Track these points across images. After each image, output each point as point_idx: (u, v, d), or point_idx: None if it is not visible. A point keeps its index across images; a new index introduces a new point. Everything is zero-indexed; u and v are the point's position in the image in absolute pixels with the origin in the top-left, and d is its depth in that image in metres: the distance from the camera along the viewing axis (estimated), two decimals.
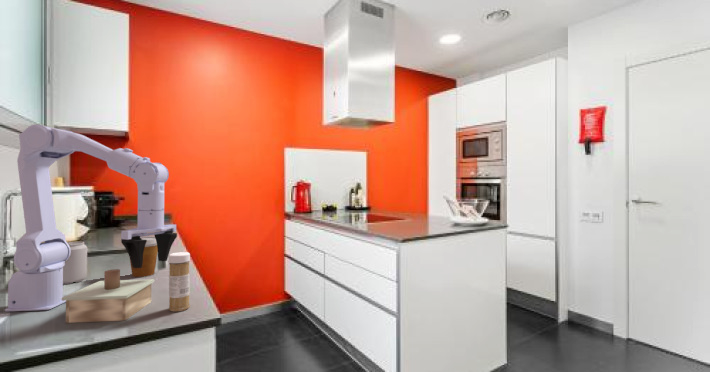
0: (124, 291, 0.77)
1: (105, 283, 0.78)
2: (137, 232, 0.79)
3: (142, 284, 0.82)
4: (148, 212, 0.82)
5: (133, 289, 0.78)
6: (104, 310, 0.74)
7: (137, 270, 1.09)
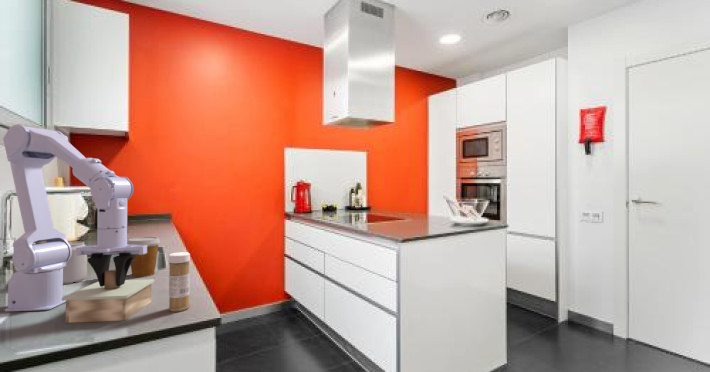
0: (124, 291, 0.77)
1: (105, 283, 0.78)
2: (85, 249, 0.77)
3: (142, 284, 0.82)
4: (97, 230, 0.78)
5: (133, 289, 0.78)
6: (104, 310, 0.74)
7: (137, 270, 1.09)
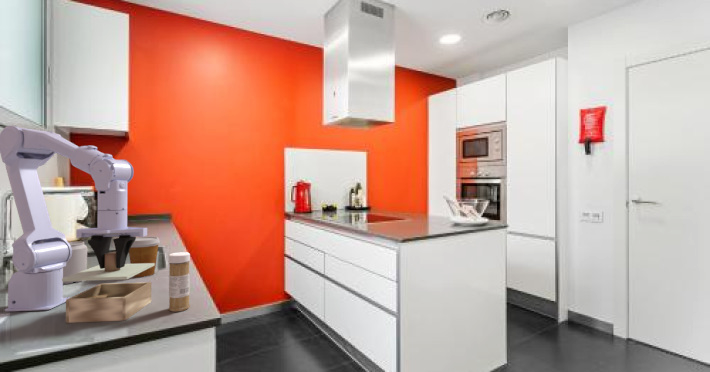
0: (124, 273, 0.77)
1: (105, 265, 0.78)
2: (85, 231, 0.78)
3: (142, 267, 0.82)
4: None
5: (133, 271, 0.78)
6: (104, 310, 0.74)
7: None
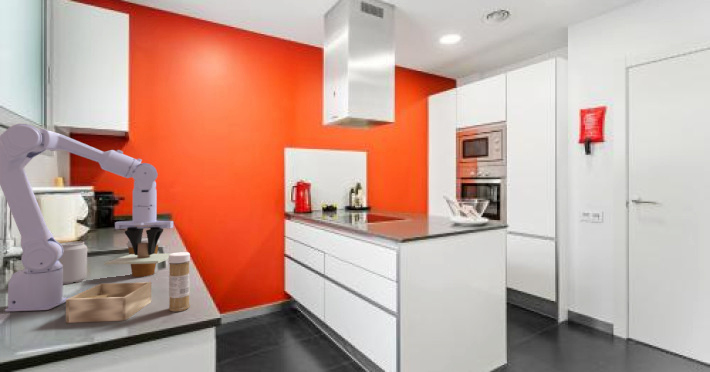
0: (155, 259, 0.91)
1: (138, 253, 0.93)
2: (122, 224, 0.93)
3: (168, 255, 0.97)
4: None
5: (162, 258, 0.93)
6: (104, 310, 0.74)
7: (137, 270, 1.09)
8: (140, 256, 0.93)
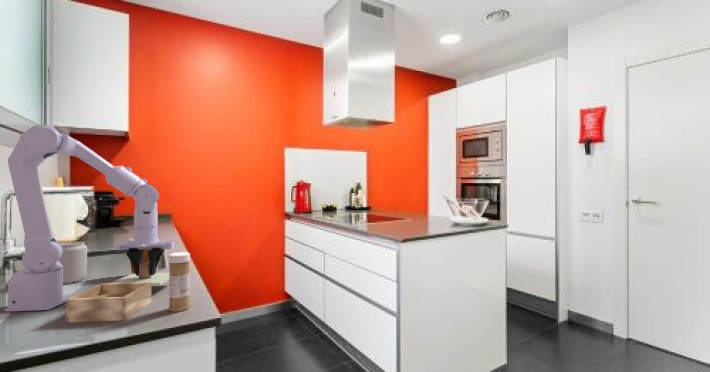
0: (156, 280, 0.92)
1: (139, 274, 0.94)
2: (123, 245, 0.93)
3: None
4: (134, 229, 0.93)
5: (163, 278, 0.94)
6: (104, 310, 0.74)
7: None
8: (141, 277, 0.93)
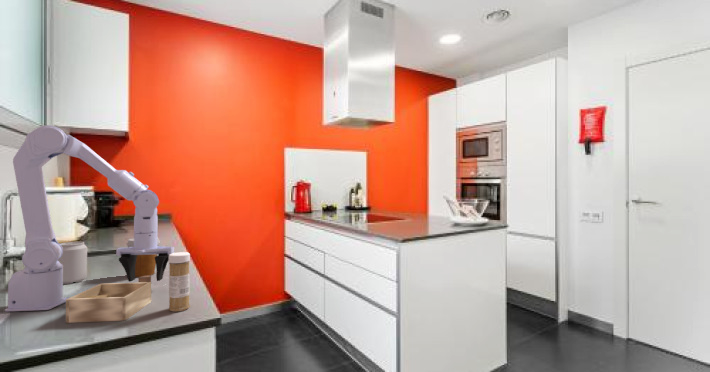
0: None
1: None
2: (123, 250, 0.93)
3: None
4: (134, 234, 0.93)
5: None
6: (104, 310, 0.74)
7: (137, 270, 1.09)
8: None
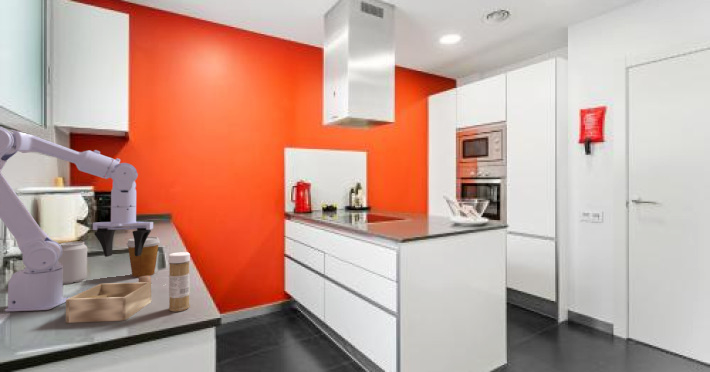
0: None
1: None
2: (100, 225, 0.91)
3: None
4: (111, 208, 0.91)
5: None
6: (104, 310, 0.74)
7: (137, 270, 1.09)
8: None
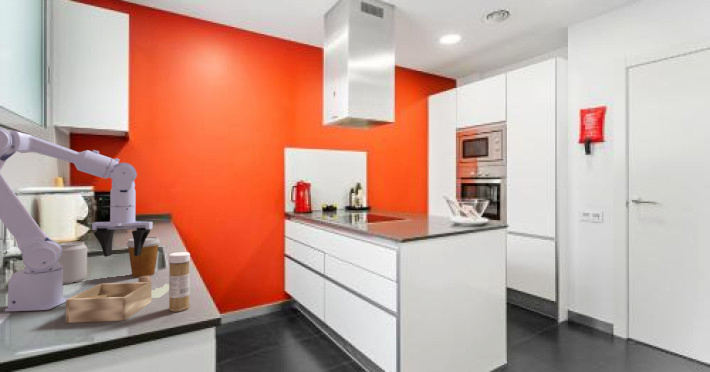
0: (156, 294, 0.92)
1: None
2: (99, 224, 0.91)
3: None
4: (110, 208, 0.91)
5: (163, 292, 0.94)
6: (104, 310, 0.74)
7: (137, 270, 1.09)
8: None
